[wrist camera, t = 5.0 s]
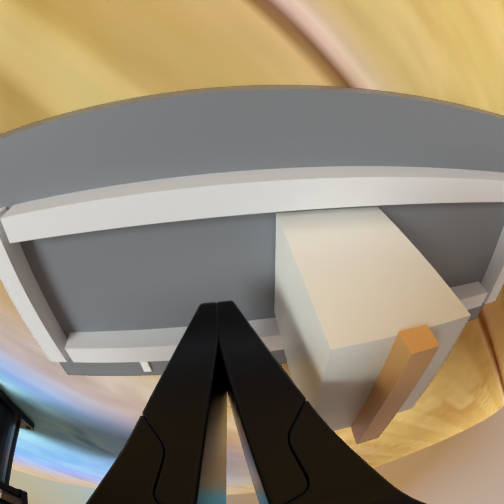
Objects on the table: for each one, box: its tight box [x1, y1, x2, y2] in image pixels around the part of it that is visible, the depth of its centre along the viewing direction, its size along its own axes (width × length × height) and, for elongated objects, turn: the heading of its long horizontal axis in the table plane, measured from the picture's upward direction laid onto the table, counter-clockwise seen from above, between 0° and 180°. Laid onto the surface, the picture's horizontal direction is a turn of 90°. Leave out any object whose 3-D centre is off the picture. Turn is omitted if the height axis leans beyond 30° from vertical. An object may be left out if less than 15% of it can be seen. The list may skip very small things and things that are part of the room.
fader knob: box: [274, 207, 471, 444], centre depth 7 cm, size 4×3×5 cm
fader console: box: [0, 85, 504, 376], centre depth 10 cm, size 10×20×2 cm, turn 92°
